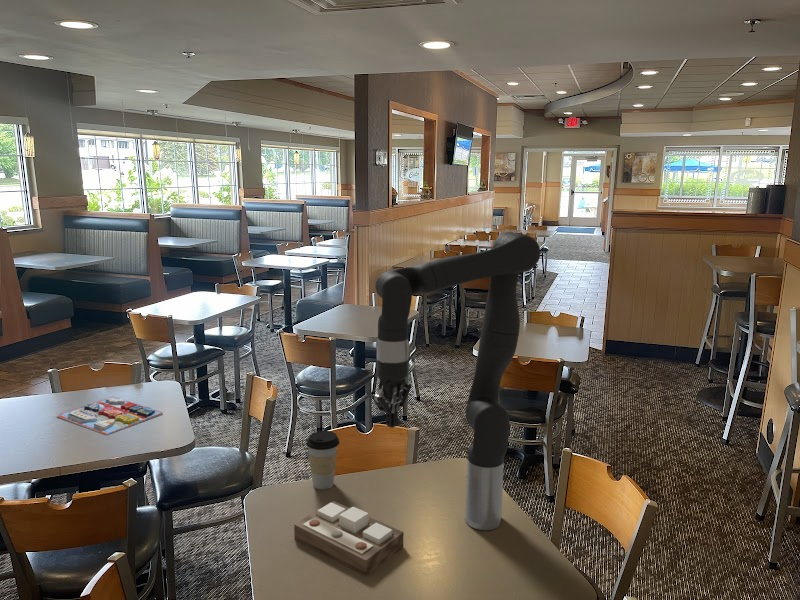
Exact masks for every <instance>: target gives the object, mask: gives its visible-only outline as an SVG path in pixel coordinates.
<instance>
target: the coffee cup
mask: <svg viewBox="0 0 800 600" xmlns="http://www.w3.org/2000/svg"><path fill="white" fill-rule="evenodd" d="M339 444H341V443H340V439H339V437H338V436H337V433H335V431H334V432H333V431H331V430H317V431H314V432H311V433H310V434H309V436H308V438H307V440H306V447H308V458H309V459H308V460H309V466H310V472H311V478H312V479H311V480H312V487H314V489H317V490H327V489H330V488H332V487H333V486H334V481H335V480H334V479H335V470H336V467H337V455H338V446H339Z"/></svg>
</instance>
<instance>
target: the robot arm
mask: <svg viewBox="0 0 800 600" xmlns="http://www.w3.org/2000/svg"><path fill="white" fill-rule="evenodd" d="M540 258H541V248H540V245H539V243H538V242H537V240H536V239H534V238H533V237H532V236H529V235H527V234H523V233H519V232H514V231H513V232H512V231H506V232H503V233H502V234H500V235H498V237H496V239H495V241H494V242H493V246H492V248H491V249H487V250H484V251H478V252H475V253H468V254H467V253H466V254H459V255H452V256H447V257H441V258H439V259H436V260H432V261H427V262H425V263H421V264H419V265H413V266H405V267H399V268H394V269H391V270H388V271H385V272H383V273H382V274H381V275H379V276H378V278H377V279H376V281H375V292H376V294H377V295H378V296H379V297H380V298H381V313H380V315H379V317H378V320H377V321H378V322H377V343H376V376H377V378H378V379H379V384H378V391H377V393H376V394H374V393H373V394H372V395H371V400H372V401H373V402H374V404H375V405H376V407H377V409H378V410H379V411H381V412H383V413H385V424H386V426H387V427H388V428H395V427H396V426H397V427H398V421H399V419H398V418H399V411H400V409H401V408H403V407H404V406H405V403H406V400H407V399H408V396H409V393H410V391H411V389H412V384H411V383H408V382H407V380H406V378H407V377H408V376H409V357H410V355H409V353H410V351H409V350H410V347H409V337H408V335H409V322H408V321H409V316H410V310H411V306H412V299H413V294H417V293H418V294H419V293H420V294H421V293H422V294H431V293H435V292H439V291H441V290H445V289H448V288H452V287H455V286H459V285H461V284H464V283H468V282H469V283H470V282H472V281H476V280H481V279H485V278H489V286H488V290H487V291H488V292H487V297H486V302H485V309H484V315H483V320H482V324H481V330H480V331H481V332H480V337H479V343H478V344H479V345H478V350H477V351H478V352H477V356H476V362H475V369H474V376H473V380H472V385H471V388H470V391H469V396H468V397H467V398H468V399H467V400H466V401H467V402H466V406H465V418H466V419H465V420H466V422H467V423H468V425H469V426H470V427H471V429H473V442H472V444H471V445H470V446H468V449H467V460H466V461H467V464H466V484H465V485H466V491H465V511H464V512H465V514H464V515H465V516H464V521H465V523H466V524H467V525H468V526H469V527H470V528H473V529H475V530H479V531H490V530H491V531H492V530H495V529H498V527H499V526H500V525H501V520H502V519H501V518H502V513H503V512H502V509H503V492H504V490H503V489H504V484H503V482H504V481H503V480H504V464H505V463H504V462H505V461H504V460H505V456H506V453H507V451H508V446H509V435H510V416H509V412H508V411H507V410H506V408H504V407H503V406H502V405H501V404H500V402H499V392H500V385H501V382H502V381H501V380H502V378H503V375H504V374H505V371H506V370H507V369H508V367H509V365H510V363H511V362H512V360H513V358H514V356H515V354H516V351H517V347H518V342H519V336H520V328H521V320H520V312H519V305H518V297H517V286H518V280H519V275H520V273H525V272H528V271H530V270H532V269H533V268H534V267H535V266H536V265H537V264H538V262H539V261H540Z"/></svg>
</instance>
